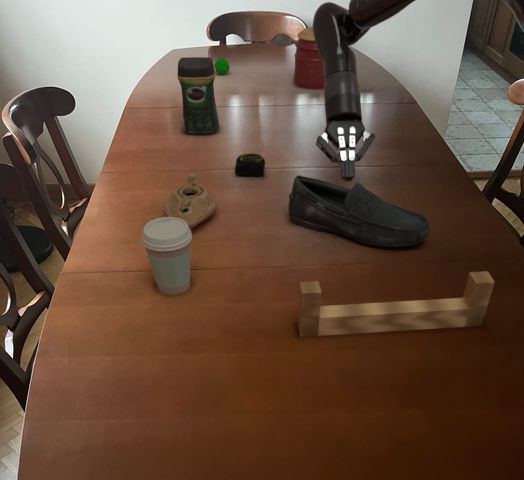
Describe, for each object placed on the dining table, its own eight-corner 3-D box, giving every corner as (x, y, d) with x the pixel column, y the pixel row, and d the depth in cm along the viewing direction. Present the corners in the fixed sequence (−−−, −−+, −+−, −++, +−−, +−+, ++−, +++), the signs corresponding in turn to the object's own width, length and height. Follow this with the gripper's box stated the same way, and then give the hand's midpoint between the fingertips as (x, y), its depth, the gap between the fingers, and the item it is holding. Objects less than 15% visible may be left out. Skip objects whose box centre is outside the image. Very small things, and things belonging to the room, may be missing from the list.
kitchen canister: (285, 83, 189) (286, 22, 177) (313, 74, 195) (315, 14, 184) (315, 93, 182) (317, 29, 170) (343, 83, 188) (347, 21, 176)
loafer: (420, 260, 112) (430, 211, 105) (278, 232, 121) (278, 185, 114) (431, 233, 119) (440, 186, 112) (295, 208, 128) (297, 163, 121)
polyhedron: (232, 74, 197) (232, 58, 194) (222, 77, 194) (221, 62, 191) (222, 71, 199) (221, 55, 196) (211, 74, 197) (210, 59, 194)
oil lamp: (166, 242, 118) (161, 206, 113) (165, 206, 129) (160, 172, 124) (221, 237, 119) (218, 201, 114) (215, 202, 130) (212, 168, 125)
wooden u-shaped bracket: (474, 315, 99) (487, 271, 93) (481, 326, 97) (494, 282, 91) (298, 326, 98) (299, 281, 92) (300, 338, 96) (301, 293, 90)
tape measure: (234, 179, 139) (234, 164, 136) (238, 166, 144) (237, 151, 141) (263, 180, 138) (263, 164, 136) (266, 167, 143) (266, 152, 141)
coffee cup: (195, 270, 111) (189, 212, 103) (199, 297, 104) (193, 238, 96) (149, 275, 110) (139, 217, 102) (150, 302, 103) (140, 243, 95)
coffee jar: (220, 125, 163) (216, 53, 151) (217, 136, 158) (212, 62, 145) (185, 125, 164) (178, 53, 152) (181, 136, 158) (173, 62, 146)
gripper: (369, 107, 129) (375, 184, 128) (309, 109, 128) (314, 188, 127) (377, 90, 121) (383, 172, 120) (313, 92, 121) (319, 175, 120)
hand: (348, 180), depth 124 cm, fingers closed
